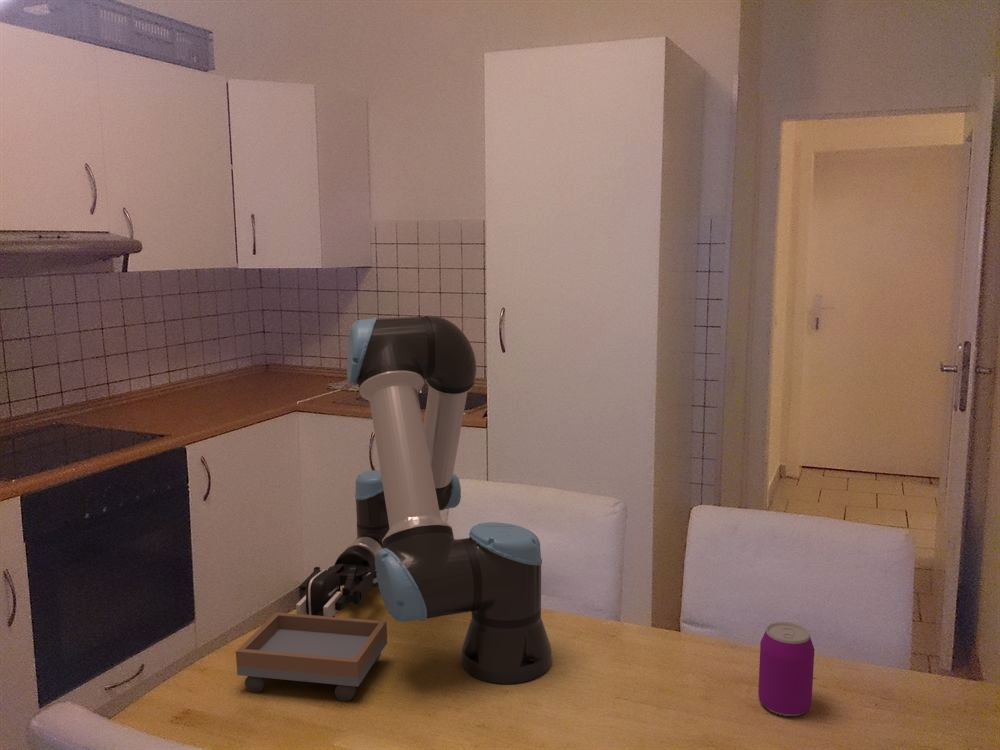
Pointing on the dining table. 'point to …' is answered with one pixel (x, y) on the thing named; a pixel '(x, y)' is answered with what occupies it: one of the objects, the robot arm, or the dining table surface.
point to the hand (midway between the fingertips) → (312, 613)
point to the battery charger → (321, 591)
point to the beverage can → (786, 669)
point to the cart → (312, 651)
